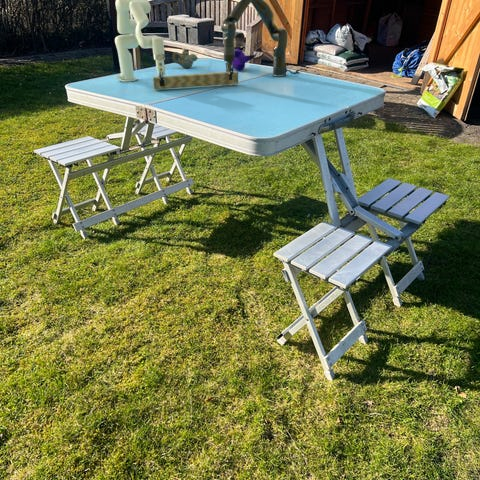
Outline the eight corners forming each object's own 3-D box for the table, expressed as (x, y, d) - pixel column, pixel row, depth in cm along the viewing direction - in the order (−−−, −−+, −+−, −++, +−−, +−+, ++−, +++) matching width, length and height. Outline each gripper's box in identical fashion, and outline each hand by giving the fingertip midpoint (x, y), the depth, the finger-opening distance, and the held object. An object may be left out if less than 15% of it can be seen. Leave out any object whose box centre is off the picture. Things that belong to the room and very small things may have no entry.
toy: (240, 72, 359) (228, 71, 382) (259, 65, 362) (246, 64, 386) (234, 52, 351) (222, 52, 375) (253, 45, 354) (241, 45, 378)
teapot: (196, 65, 393) (195, 47, 386) (199, 67, 384) (198, 49, 376) (172, 67, 388) (170, 48, 380) (175, 69, 378) (173, 50, 370)
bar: (154, 89, 307) (153, 78, 303) (153, 88, 311) (152, 77, 307) (238, 83, 319) (238, 72, 315) (236, 82, 323) (236, 71, 319)
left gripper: (166, 58, 293) (168, 87, 303) (163, 54, 307) (166, 82, 317) (154, 59, 292) (157, 88, 301) (152, 55, 306) (155, 83, 315)
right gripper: (237, 54, 305) (237, 80, 313) (232, 51, 317) (232, 77, 325) (226, 55, 303) (227, 81, 312) (221, 52, 315) (222, 77, 324)
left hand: (161, 84), depth 309 cm, fingers closed on bar, 4 cm apart
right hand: (229, 79), depth 318 cm, fingers closed on bar, 4 cm apart
